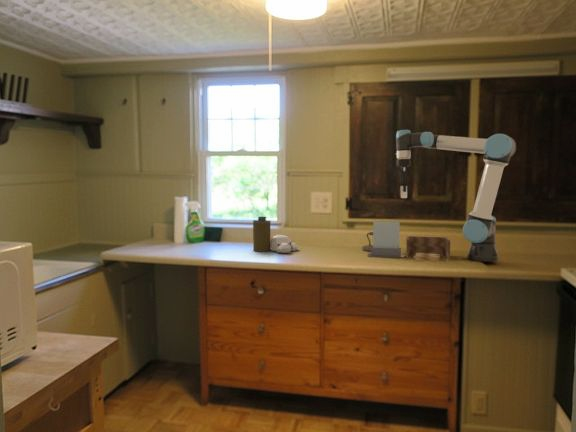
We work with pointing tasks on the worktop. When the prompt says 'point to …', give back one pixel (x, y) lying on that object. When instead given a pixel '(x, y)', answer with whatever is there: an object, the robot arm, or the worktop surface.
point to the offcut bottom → (428, 259)
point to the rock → (282, 244)
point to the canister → (261, 234)
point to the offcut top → (427, 255)
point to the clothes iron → (368, 247)
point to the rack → (428, 246)
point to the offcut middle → (426, 258)
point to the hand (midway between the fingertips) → (403, 197)
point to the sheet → (386, 235)
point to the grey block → (385, 253)
